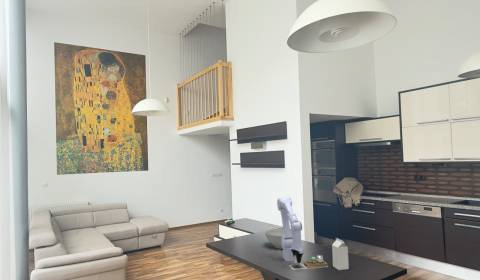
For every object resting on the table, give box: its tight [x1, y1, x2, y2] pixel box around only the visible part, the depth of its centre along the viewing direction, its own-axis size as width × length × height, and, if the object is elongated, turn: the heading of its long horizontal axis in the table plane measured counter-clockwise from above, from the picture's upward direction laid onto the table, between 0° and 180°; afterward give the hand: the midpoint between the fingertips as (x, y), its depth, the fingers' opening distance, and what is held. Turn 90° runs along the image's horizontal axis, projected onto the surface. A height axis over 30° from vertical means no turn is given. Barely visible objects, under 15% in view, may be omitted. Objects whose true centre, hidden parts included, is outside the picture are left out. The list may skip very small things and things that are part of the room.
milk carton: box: [331, 237, 350, 271], centre depth 199 cm, size 7×7×19 cm
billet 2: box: [316, 254, 324, 264], centre depth 204 cm, size 4×4×6 cm
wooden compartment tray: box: [303, 260, 329, 270], centre depth 203 cm, size 8×14×3 cm, turn 101°
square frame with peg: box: [306, 257, 317, 262], centre depth 210 cm, size 6×6×3 cm
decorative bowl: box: [264, 227, 292, 250], centre depth 255 cm, size 27×27×12 cm
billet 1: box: [293, 255, 302, 267], centre depth 202 cm, size 4×4×6 cm
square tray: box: [288, 263, 308, 271], centre depth 202 cm, size 9×9×2 cm
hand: (297, 261), depth 202 cm, fingers closed on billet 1, 4 cm apart
